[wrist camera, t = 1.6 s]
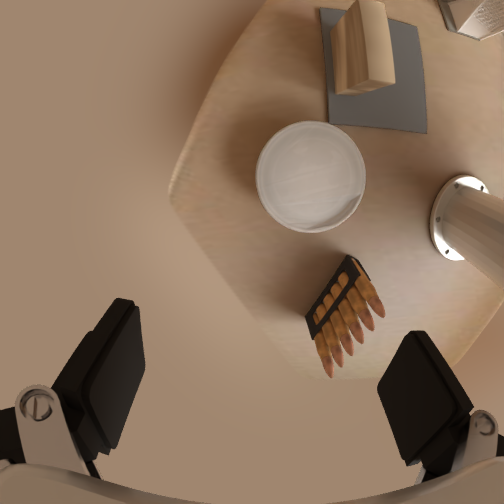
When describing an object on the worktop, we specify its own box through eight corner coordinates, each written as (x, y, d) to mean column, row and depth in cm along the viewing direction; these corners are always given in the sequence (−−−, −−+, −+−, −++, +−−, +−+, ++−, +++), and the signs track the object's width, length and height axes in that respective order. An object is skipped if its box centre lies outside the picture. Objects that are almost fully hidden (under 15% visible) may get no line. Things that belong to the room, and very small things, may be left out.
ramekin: (296, 237, 34) (303, 254, 29) (233, 166, 31) (230, 172, 26) (368, 179, 31) (386, 188, 26) (309, 104, 28) (320, 98, 23)
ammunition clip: (347, 254, 35) (383, 306, 24) (358, 259, 35) (396, 312, 24) (304, 317, 39) (319, 381, 28) (315, 321, 39) (333, 384, 28)
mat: (414, 27, 23) (416, 26, 22) (424, 133, 28) (426, 133, 28) (319, 9, 23) (320, 7, 22) (328, 124, 29) (329, 123, 28)
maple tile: (349, 34, 24) (384, 3, 14) (355, 96, 27) (395, 83, 18) (329, 32, 24) (358, -3, 14) (335, 94, 27) (369, 79, 18)
